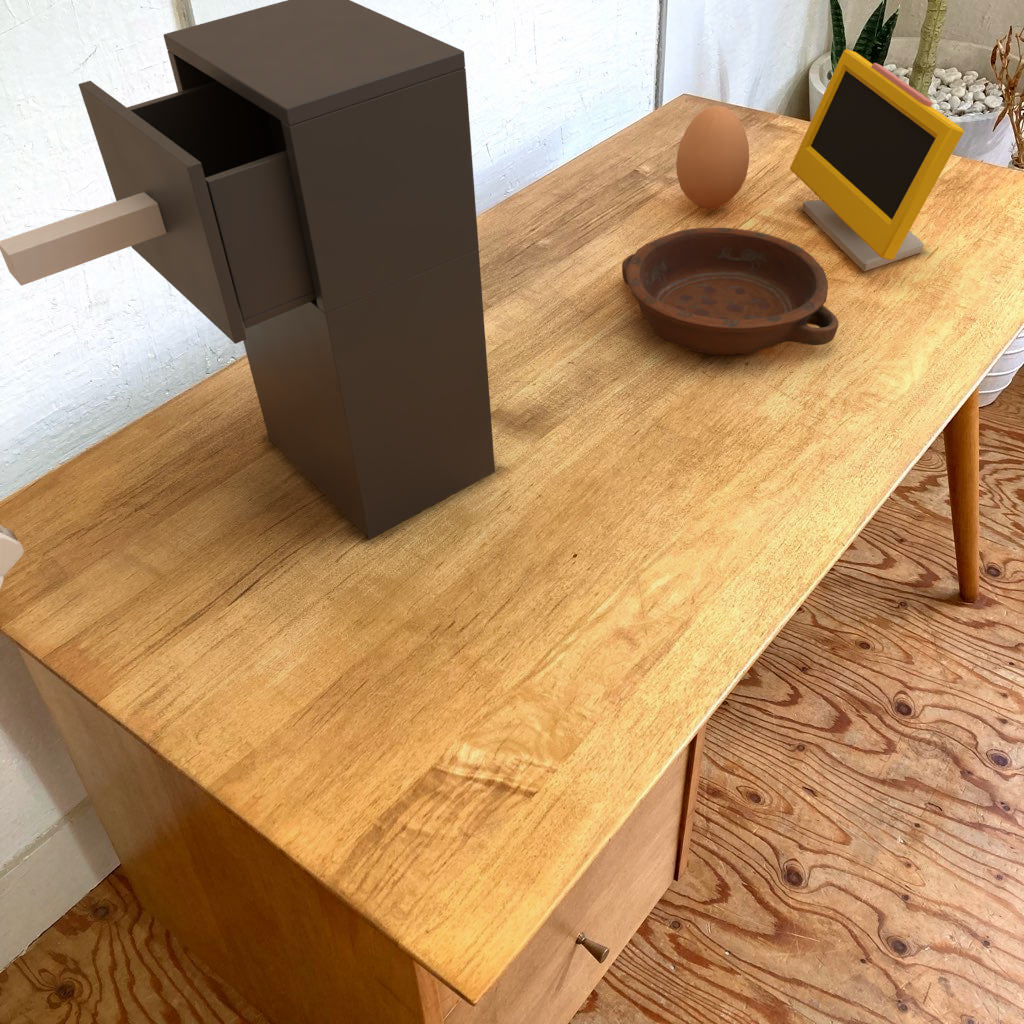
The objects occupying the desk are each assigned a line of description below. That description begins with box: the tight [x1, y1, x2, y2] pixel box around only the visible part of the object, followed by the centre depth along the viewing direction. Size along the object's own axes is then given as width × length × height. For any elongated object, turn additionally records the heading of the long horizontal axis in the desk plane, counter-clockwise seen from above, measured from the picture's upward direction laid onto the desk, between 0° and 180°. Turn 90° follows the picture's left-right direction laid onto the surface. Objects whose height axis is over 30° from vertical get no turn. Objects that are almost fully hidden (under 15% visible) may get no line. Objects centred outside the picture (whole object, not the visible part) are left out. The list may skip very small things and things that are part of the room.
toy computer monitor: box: [789, 48, 964, 272], centre depth 104 cm, size 20×8×16 cm, turn 14°
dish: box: [621, 227, 839, 356], centre depth 97 cm, size 18×22×5 cm
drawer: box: [0, 80, 316, 345], centre depth 64 cm, size 21×16×11 cm
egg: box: [675, 105, 750, 210], centre depth 111 cm, size 8×8×11 cm
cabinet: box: [163, 0, 496, 540], centre depth 75 cm, size 12×16×33 cm
